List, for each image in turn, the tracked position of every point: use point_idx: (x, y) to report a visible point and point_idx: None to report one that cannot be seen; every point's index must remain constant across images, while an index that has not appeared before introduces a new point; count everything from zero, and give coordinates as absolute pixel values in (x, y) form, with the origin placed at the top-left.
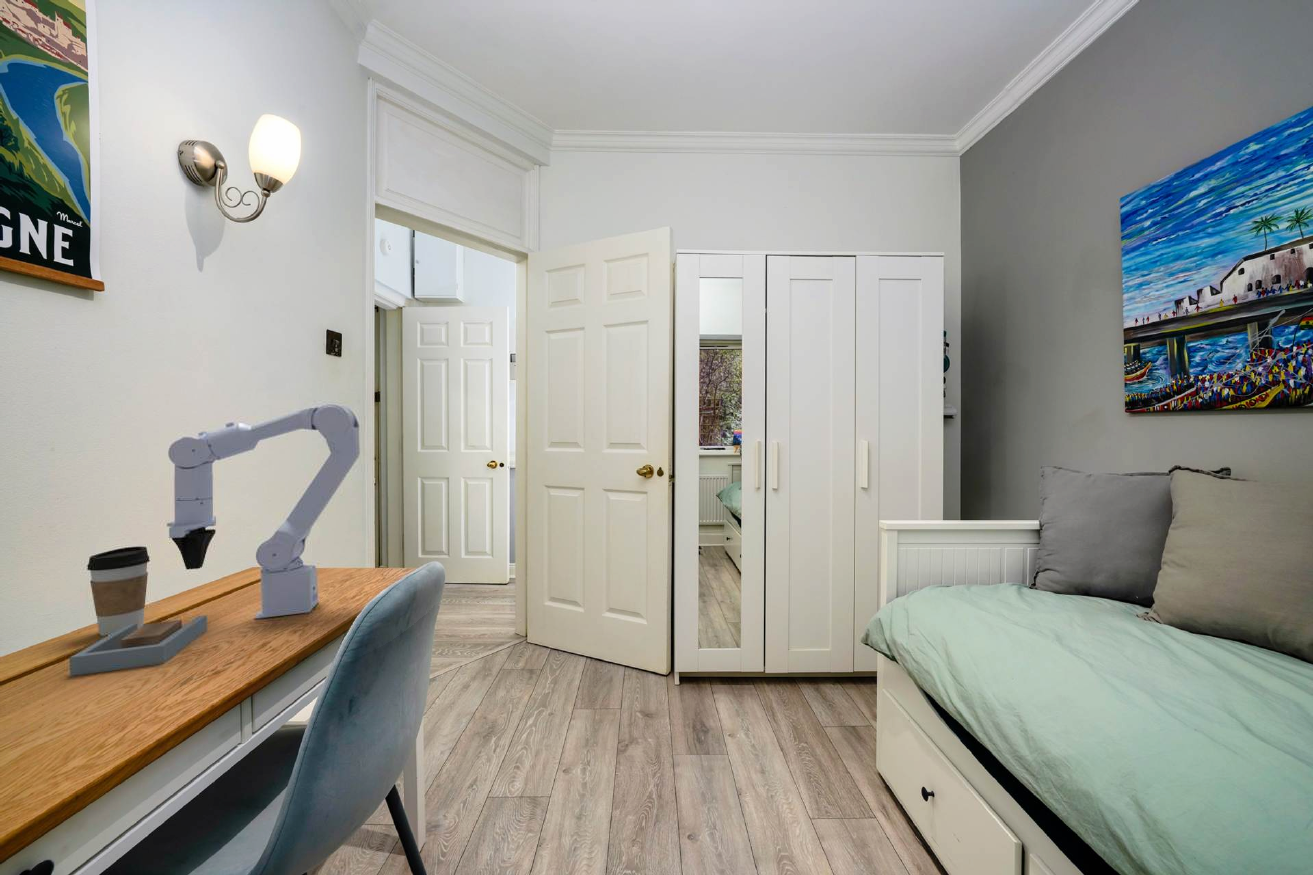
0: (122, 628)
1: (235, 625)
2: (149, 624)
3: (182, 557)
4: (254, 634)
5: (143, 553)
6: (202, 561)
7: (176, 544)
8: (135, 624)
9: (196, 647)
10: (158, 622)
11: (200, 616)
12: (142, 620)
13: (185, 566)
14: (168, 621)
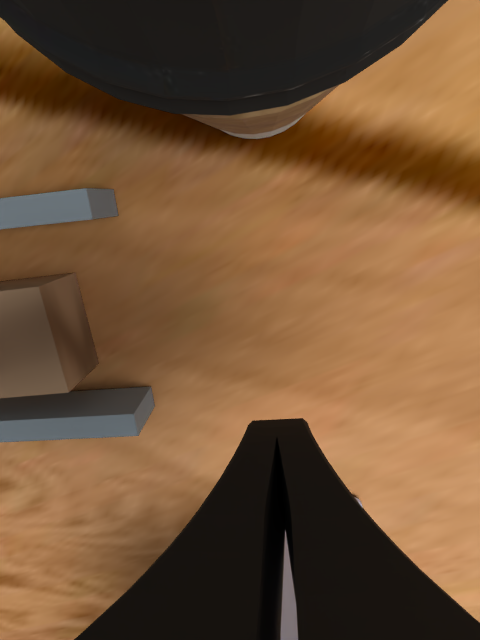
0: (30, 201)
1: (180, 467)
2: (28, 305)
3: (221, 477)
4: (82, 539)
5: (212, 24)
6: (286, 536)
7: (99, 618)
8: (80, 220)
9: (4, 443)
10: (50, 324)
11: (125, 422)
12: (266, 135)
13: (246, 431)
14: (56, 356)
